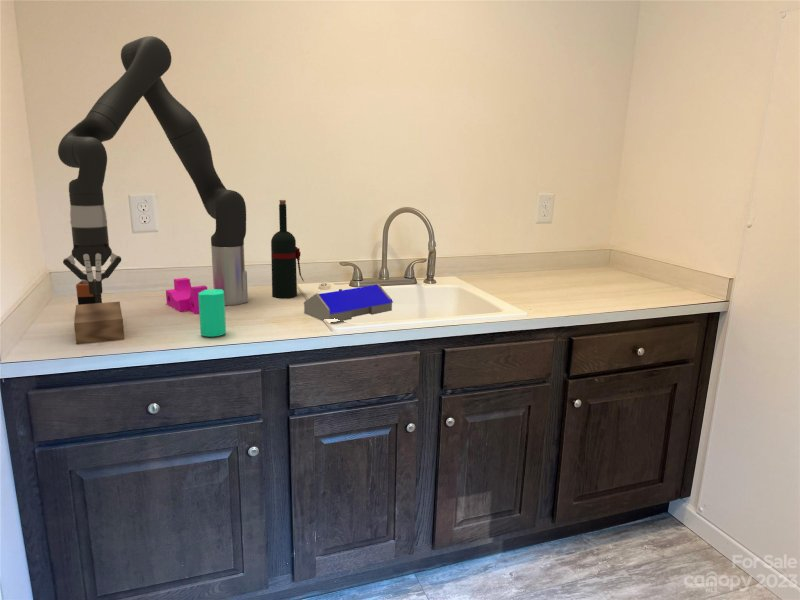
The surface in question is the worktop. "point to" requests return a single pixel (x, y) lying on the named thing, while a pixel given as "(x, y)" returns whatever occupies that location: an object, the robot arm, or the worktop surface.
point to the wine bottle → (284, 259)
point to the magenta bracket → (184, 296)
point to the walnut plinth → (98, 322)
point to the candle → (212, 312)
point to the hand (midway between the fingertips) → (96, 295)
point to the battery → (86, 294)
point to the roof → (348, 303)
